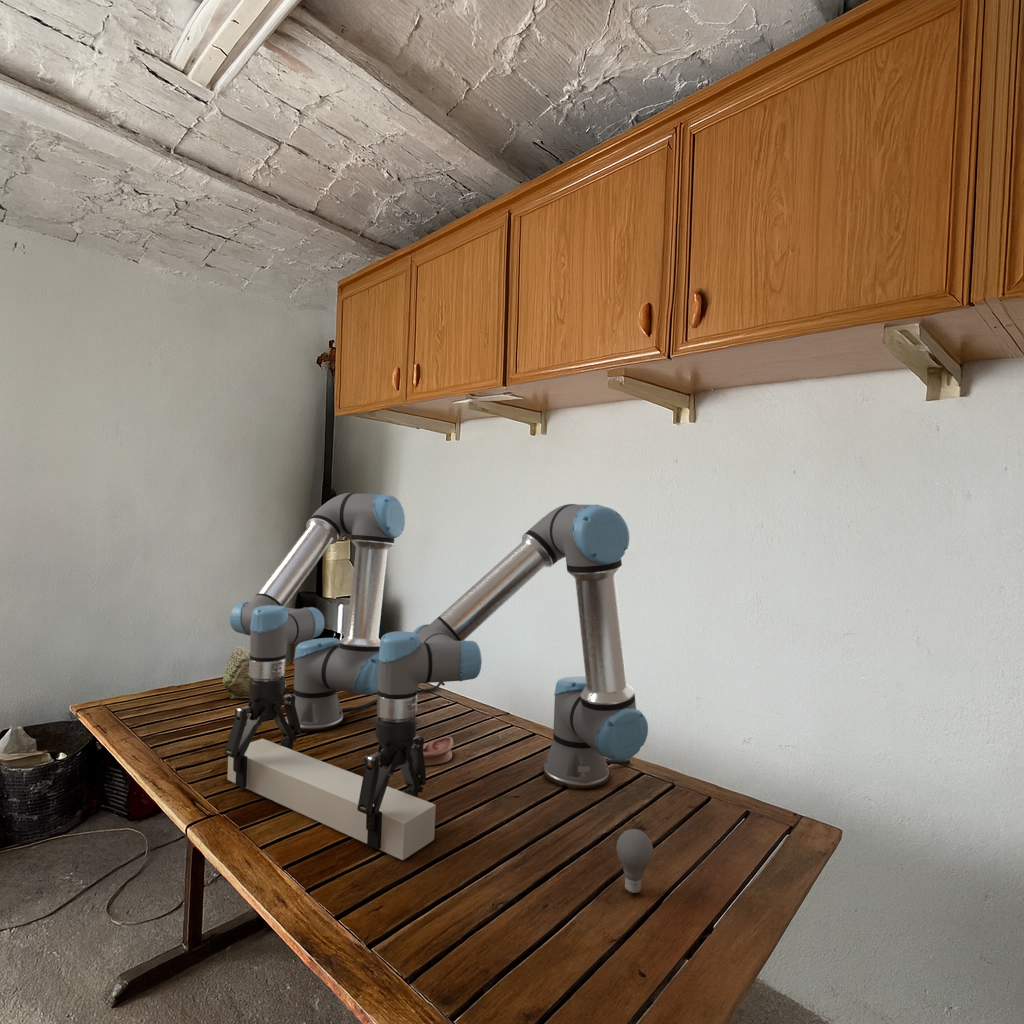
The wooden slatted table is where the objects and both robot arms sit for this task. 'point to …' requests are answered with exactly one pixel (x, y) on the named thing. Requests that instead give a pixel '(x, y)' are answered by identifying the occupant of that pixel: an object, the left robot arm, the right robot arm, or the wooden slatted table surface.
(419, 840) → the thick board
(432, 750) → the anatomical model
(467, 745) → the wooden slatted table surface
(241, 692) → the fossil
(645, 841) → the light bulb
